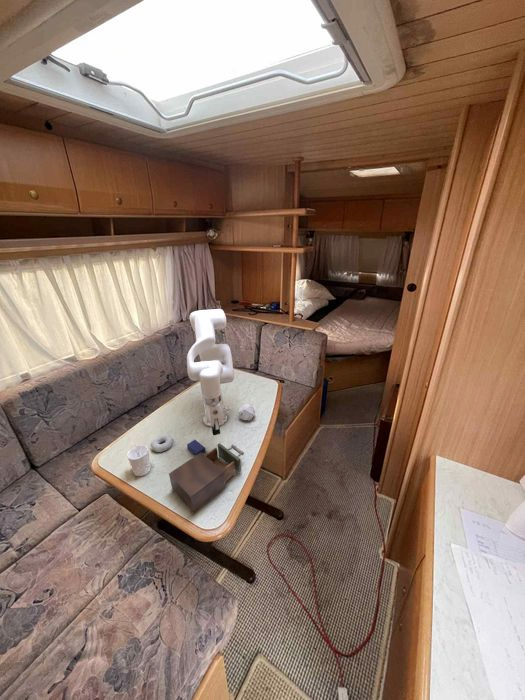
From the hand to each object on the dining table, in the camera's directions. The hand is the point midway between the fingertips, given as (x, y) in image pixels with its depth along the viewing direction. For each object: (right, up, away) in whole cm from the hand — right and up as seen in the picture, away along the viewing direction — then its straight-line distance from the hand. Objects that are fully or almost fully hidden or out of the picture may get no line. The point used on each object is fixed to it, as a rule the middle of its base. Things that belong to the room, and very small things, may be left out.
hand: (216, 433), depth 117 cm
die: (+12, -1, +30) cm, 32 cm away
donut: (-28, -10, +12) cm, 32 cm away
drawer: (+3, -14, -3) cm, 15 cm away
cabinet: (-5, -19, -10) cm, 22 cm away
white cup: (-32, -16, -1) cm, 35 cm away
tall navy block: (-11, -11, +9) cm, 17 cm away
